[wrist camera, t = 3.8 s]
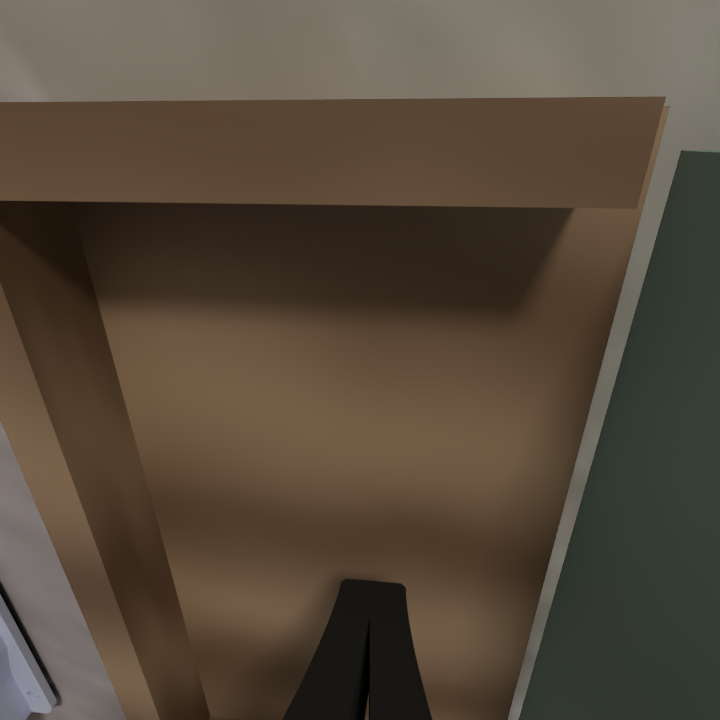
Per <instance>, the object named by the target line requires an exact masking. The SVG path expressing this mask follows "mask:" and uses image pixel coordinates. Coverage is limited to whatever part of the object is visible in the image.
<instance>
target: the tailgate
mask: <svg viewBox="0 0 720 720" xmlns="http://www.w3.org/2000/svg"><path fill="white" fill-rule="evenodd" d="M519 720H720V151H681V153H680V157H679V160H678V164H677V167H676V171H675V174H674V178H673V181H672V185H671V188H670V192H669V195H668V199H667V202H666V206H665V209H664V213H663V216H662V220H661V223H660V227H659V230H658V234H657V237H656V241H655V244H654V248H653V251H652V255H651V258H650V262H649V265H648V269H647V272H646V276H645V279H644V283H643V286H642V290H641V293H640V297H639V300H638V304H637V307H636V311H635V314H634V318H633V321H632V325H631V328H630V332H629V335H628V339H627V343H626V346H625V350H624V353H623V357H622V360H621V364H620V367H619V371H618V374H617V378H616V381H615V385H614V388H613V392H612V395H611V399H610V402H609V406H608V409H607V413H606V416H605V420H604V423H603V427H602V430H601V434H600V437H599V441H598V444H597V448H596V451H595V455H594V458H593V462H592V465H591V469H590V472H589V476H588V479H587V483H586V486H585V490H584V493H583V497H582V500H581V504H580V507H579V511H578V514H577V518H576V521H575V525H574V528H573V532H572V535H571V539H570V542H569V546H568V549H567V553H566V556H565V560H564V563H563V567H562V570H561V574H560V577H559V581H558V584H557V588H556V591H555V595H554V598H553V602H552V605H551V609H550V612H549V616H548V619H547V623H546V626H545V630H544V633H543V637H542V640H541V644H540V647H539V651H538V654H537V658H536V661H535V665H534V668H533V672H532V675H531V679H530V682H529V686H528V689H527V693H526V696H525V700H524V703H523V707H522V710H521V714H520V717H519Z"/></svg>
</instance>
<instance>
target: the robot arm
mask: <svg viewBox="0 0 720 720" xmlns="http://www.w3.org/2000/svg"><path fill="white" fill-rule="evenodd" d="M368 694H369V720H432V716H431V713H430V709H429V706H428V702H427V698H426V694H425V691H424V687H423V683H422V679H421V675H420V672H419V667H418V663H417V659H416V654H415V650H414V645H413V640H412V635H411V629H410V623H409V617H408V609H407V600H406V587H405V586H404V585H402V584H401V583H391V582H380V581H369V580H358V579H347V578H346V579H345V580H343V581H341V585H340V589H339V592H338V596H337V599H336V602H335V605H334V607H333V610H332V613H331V616H330V618H329V621H328V623H327V626H326V628H325V631H324V633H323V636H322V638H321V640H320V643H319V645H318V647H317V650H316V652H315V654H314V656H313V658H312V660H311V663H310V665H309V667H308V669H307V671H306V673H305V676H304V678H303V680H302V682H301V684H300V686H299V688H298V690H297V692H296V694H295V696H294V698H293V700H292V702H291V704H290V706H289V707H288V709H287V711H286V713H285V715H284V717H283V719H282V720H365V715H366V708H367V701H368ZM56 703H57V700H56V697H55V696H54V694H53V692H52V690H51V688H50V686H49V684H48V682H47V681H46V679H45V677H44V675H43V673H42V671H41V669H40V667H39V666H38V664H37V662H36V660H35V658H34V656H33V654H32V652H31V651H30V649H29V647H28V645H27V643H26V641H25V639H24V637H23V636H22V634H21V632H20V630H19V628H18V626H17V624H16V622H15V621H14V619H13V617H12V615H11V613H10V611H9V609H8V607H7V606H6V604H5V602H4V600H3V598H2V596H1V594H0V720H26V719H27V718H28V716H29V715H30V713H31V712H37V713H49V712H51V711H52V710H53V708H54V706H55V705H56Z"/></svg>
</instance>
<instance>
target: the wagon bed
mask: <svg viewBox="0 0 720 720" xmlns="http://www.w3.org/2000/svg"><path fill="white" fill-rule="evenodd" d="M665 98H666V97H575V98H459V99H344V100H229V101H114V102H0V421H1V423H2V425H3V428H4V430H5V432H6V435H7V437H8V439H9V442H10V444H11V447H12V449H13V451H14V454H15V456H16V458H17V461H18V463H19V465H20V468H21V470H22V472H23V475H24V477H25V480H26V482H27V484H28V487H29V489H30V491H31V494H32V496H33V498H34V501H35V503H36V505H37V508H38V510H39V513H40V515H41V517H42V520H43V522H44V524H45V527H46V529H47V531H48V534H49V536H50V538H51V541H52V543H53V546H54V548H55V550H56V553H57V555H58V557H59V560H60V562H61V564H62V567H63V569H64V572H65V574H66V576H67V579H68V581H69V583H70V586H71V588H72V590H73V593H74V595H75V597H76V600H77V602H78V605H79V607H80V609H81V612H82V614H83V616H84V619H85V621H86V623H87V626H88V628H89V630H90V633H91V635H92V638H93V640H94V642H95V645H96V647H97V649H98V652H99V654H100V656H101V659H102V661H103V663H104V666H105V668H106V671H107V673H108V675H109V678H110V680H111V682H112V685H113V687H114V689H115V692H116V694H117V696H118V699H119V701H120V704H121V706H122V708H123V711H124V713H125V715H126V718H127V720H282V719H283V717H284V715H285V713H286V711H287V709H288V707H289V706H290V704H291V702H292V700H293V698H294V696H295V694H296V692H297V690H298V688H299V686H300V684H301V682H302V680H303V678H304V676H305V673H306V671H307V669H308V667H309V665H310V663H311V660H312V658H313V656H314V654H315V652H316V650H317V647H318V645H319V643H320V640H321V638H322V636H323V633H324V631H325V628H326V626H327V623H328V621H329V618H330V616H331V613H332V610H333V607H334V605H335V602H336V599H337V596H338V592H339V589H340V585H341V581H343V580H345V579H346V578H347V579H358V580H369V581H380V582H391V583H401V584H402V585H404V586H405V587H406V600H407V609H408V617H409V623H410V629H411V635H412V640H413V645H414V650H415V654H416V659H417V663H418V667H419V672H420V675H421V679H422V683H423V687H424V691H425V694H426V698H427V702H428V706H429V709H430V713H431V716H432V720H507V719H508V715H509V711H510V708H511V704H512V700H513V696H514V693H515V689H516V685H517V681H518V677H519V674H520V670H521V666H522V662H523V659H524V655H525V651H526V647H527V643H528V640H529V636H530V632H531V628H532V625H533V621H534V617H535V613H536V609H537V606H538V602H539V598H540V594H541V591H542V587H543V583H544V579H545V575H546V572H547V568H548V564H549V560H550V557H551V553H552V549H553V545H554V541H555V538H556V534H557V530H558V526H559V523H560V519H561V515H562V511H563V508H564V504H565V500H566V496H567V492H568V489H569V485H570V481H571V477H572V474H573V470H574V466H575V462H576V458H577V455H578V451H579V447H580V443H581V440H582V436H583V432H584V428H585V424H586V421H587V417H588V413H589V409H590V406H591V402H592V398H593V394H594V390H595V387H596V383H597V379H598V375H599V372H600V368H601V364H602V360H603V356H604V353H605V349H606V345H607V341H608V338H609V334H610V330H611V326H612V323H613V319H614V315H615V311H616V307H617V304H618V300H619V296H620V292H621V289H622V285H623V281H624V277H625V273H626V270H627V266H628V262H629V258H630V255H631V251H632V247H633V243H634V239H635V236H636V232H637V228H638V224H639V221H640V217H641V213H642V209H643V205H644V202H645V198H646V194H647V190H648V187H649V183H650V179H651V175H652V172H653V168H654V164H655V160H656V156H657V153H658V149H659V145H660V141H661V138H662V134H663V130H664V126H665V122H666V119H667V115H668V111H669V107H670V106H664V102H665ZM365 720H369V694H368V701H367V708H366V715H365Z"/></svg>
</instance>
